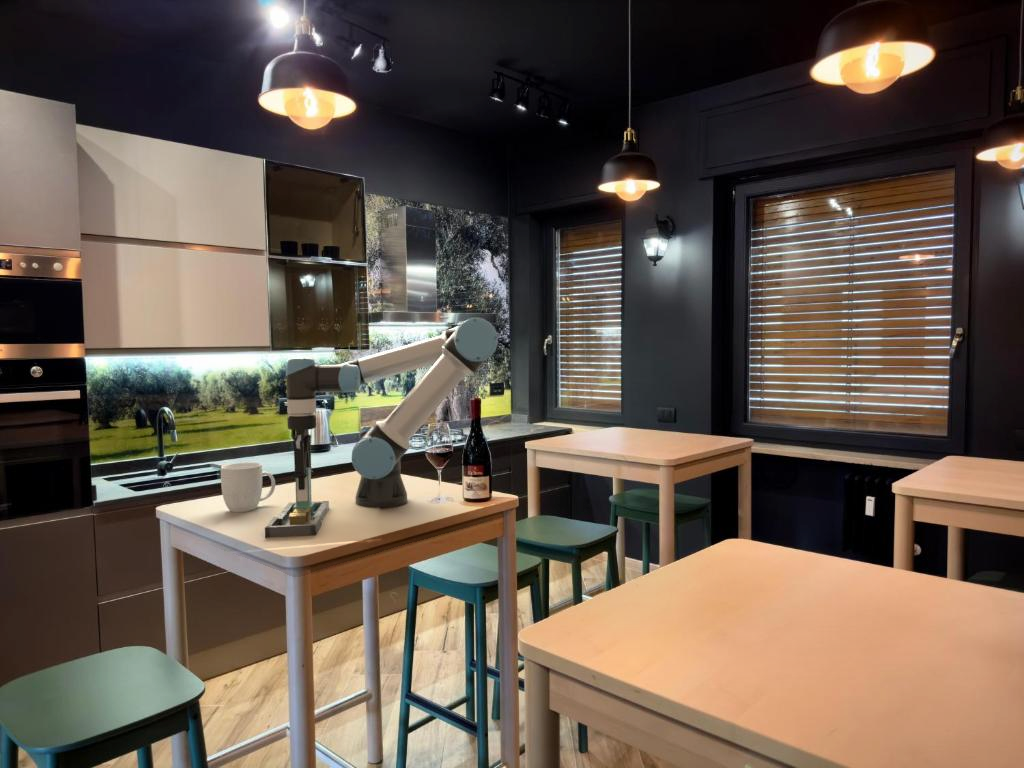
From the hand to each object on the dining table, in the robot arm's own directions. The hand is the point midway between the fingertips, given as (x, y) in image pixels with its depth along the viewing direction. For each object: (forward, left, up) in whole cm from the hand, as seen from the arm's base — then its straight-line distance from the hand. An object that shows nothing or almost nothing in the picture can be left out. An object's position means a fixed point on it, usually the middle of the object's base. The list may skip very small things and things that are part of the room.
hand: (304, 498), depth 190 cm
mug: (+18, -10, -5) cm, 21 cm away
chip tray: (0, +17, -5) cm, 17 cm away
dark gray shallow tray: (0, +3, -5) cm, 5 cm away
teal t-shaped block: (0, 0, -4) cm, 4 cm away
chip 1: (0, +10, -4) cm, 10 cm away
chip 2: (0, +5, -4) cm, 7 cm away
